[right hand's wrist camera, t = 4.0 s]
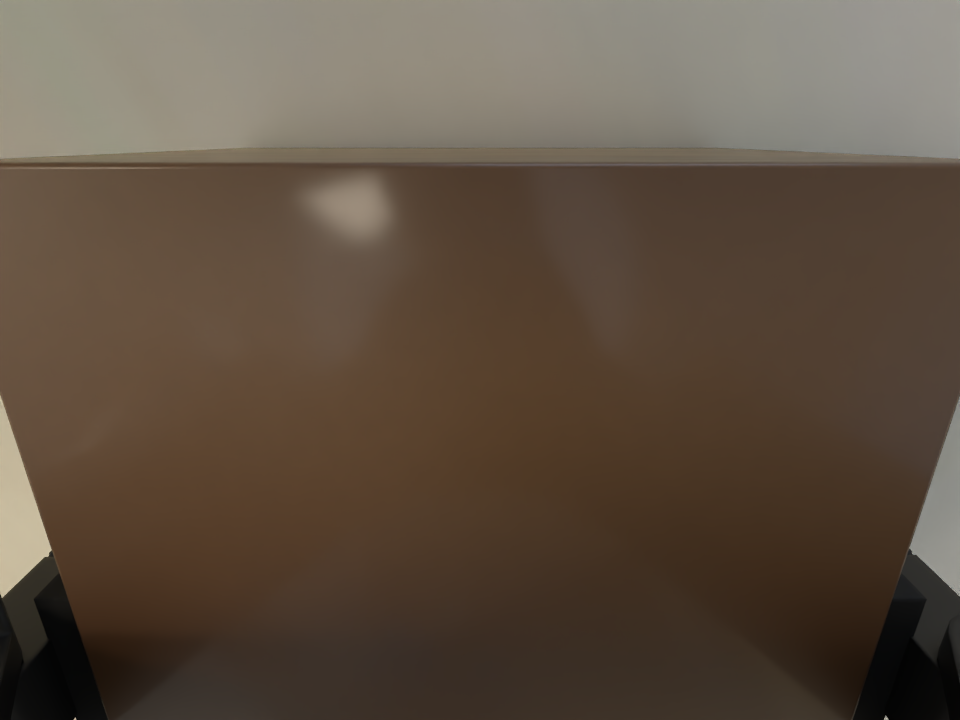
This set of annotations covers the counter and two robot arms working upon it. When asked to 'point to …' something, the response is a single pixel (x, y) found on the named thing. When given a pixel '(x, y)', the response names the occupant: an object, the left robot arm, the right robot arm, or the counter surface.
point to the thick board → (480, 423)
